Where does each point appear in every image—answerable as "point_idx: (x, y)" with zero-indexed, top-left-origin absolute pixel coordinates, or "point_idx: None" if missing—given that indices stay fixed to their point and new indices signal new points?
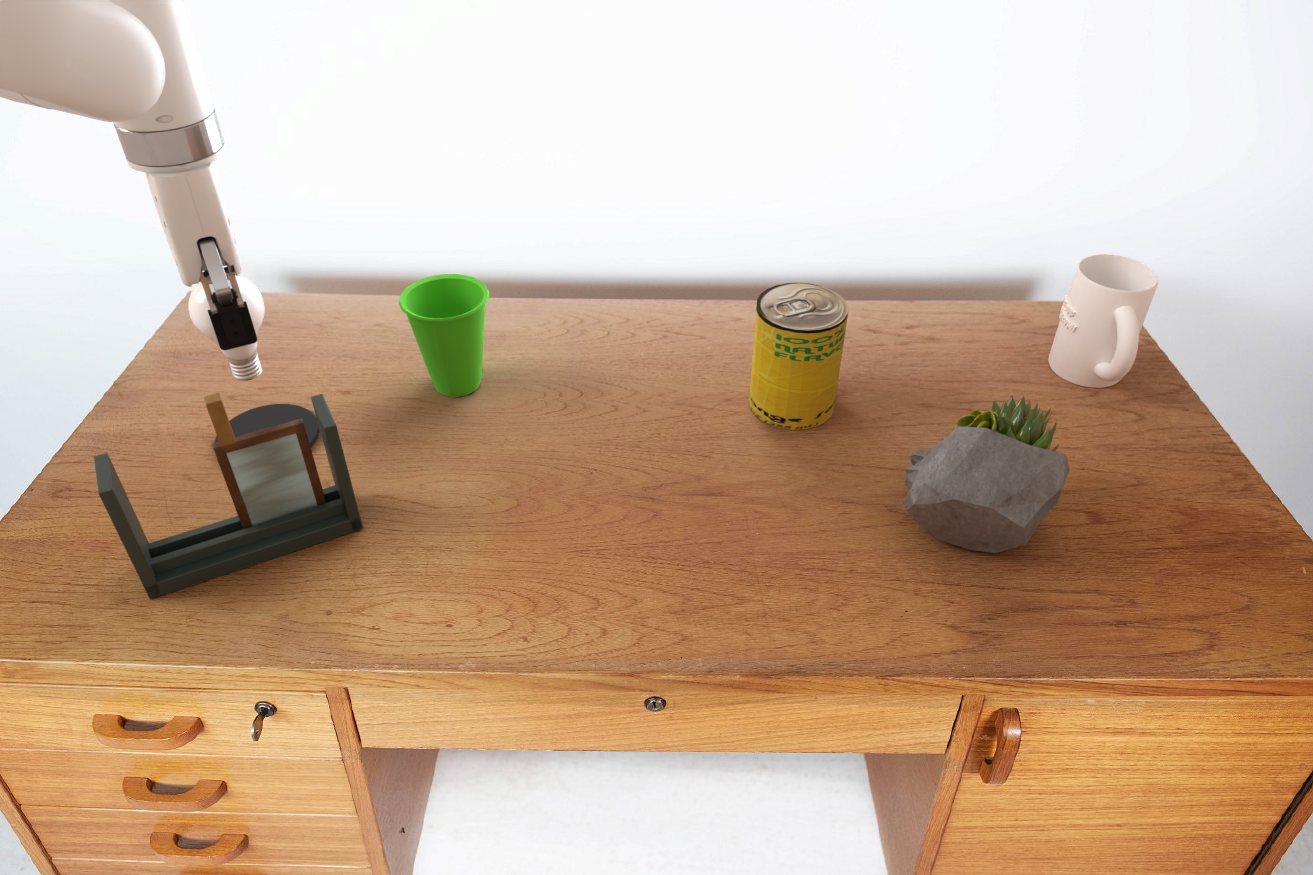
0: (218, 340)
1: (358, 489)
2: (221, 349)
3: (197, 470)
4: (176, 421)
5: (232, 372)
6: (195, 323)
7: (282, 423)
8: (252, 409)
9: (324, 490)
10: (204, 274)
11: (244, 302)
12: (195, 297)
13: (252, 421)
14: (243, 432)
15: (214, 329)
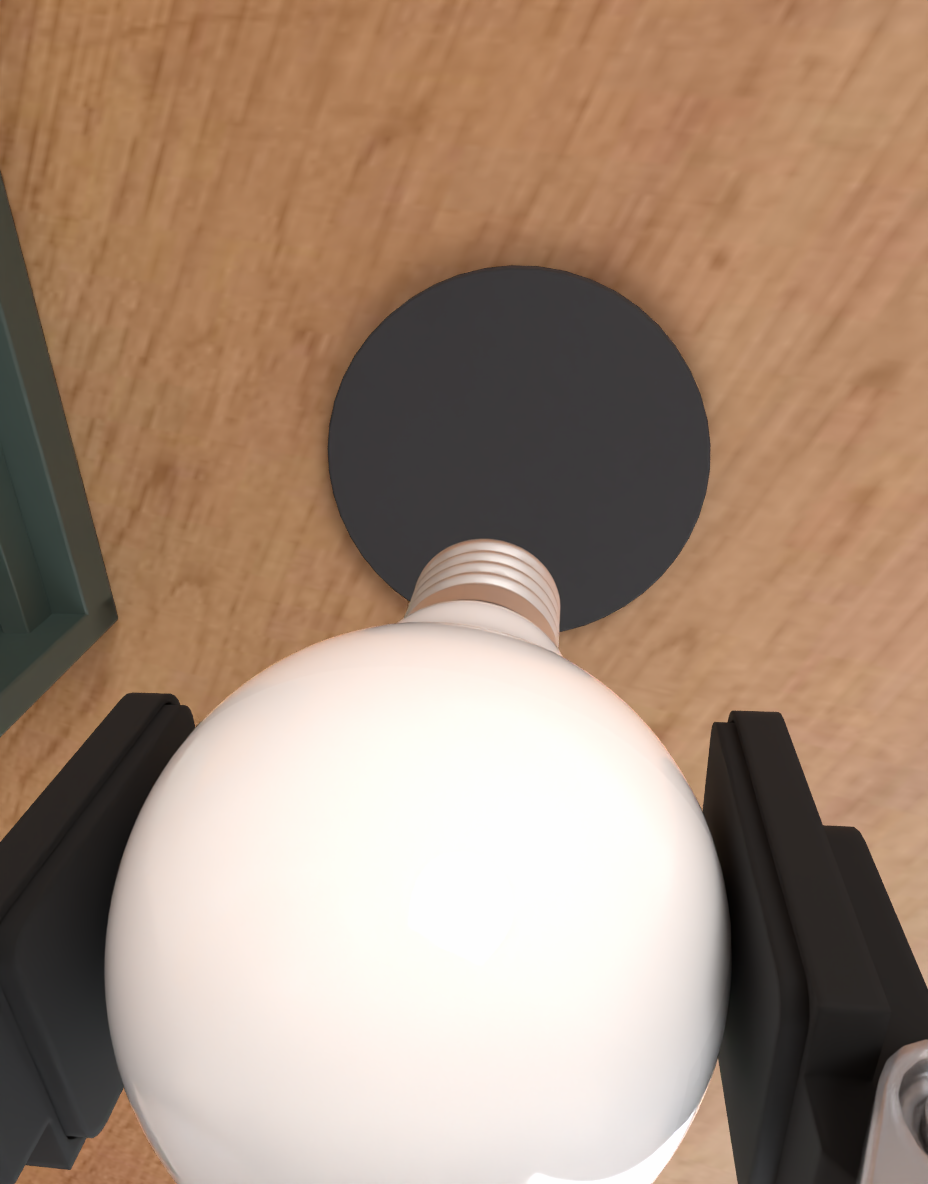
0: (90, 740)
1: (144, 645)
2: (130, 693)
3: (429, 172)
4: (847, 111)
5: (465, 554)
6: (281, 677)
7: (549, 530)
8: (703, 448)
9: (9, 598)
10: (803, 1067)
11: (57, 1158)
12: (252, 922)
13: (618, 435)
14: (561, 391)
15: (36, 806)
